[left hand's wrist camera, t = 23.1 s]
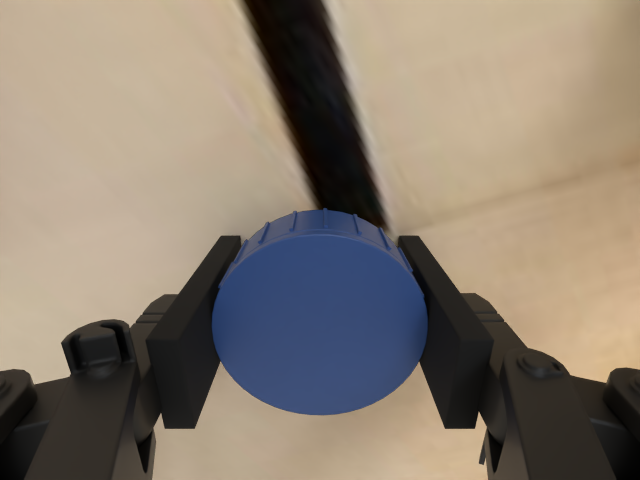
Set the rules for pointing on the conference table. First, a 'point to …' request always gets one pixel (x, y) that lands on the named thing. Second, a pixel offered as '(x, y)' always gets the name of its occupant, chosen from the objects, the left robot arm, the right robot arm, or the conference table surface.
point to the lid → (319, 314)
